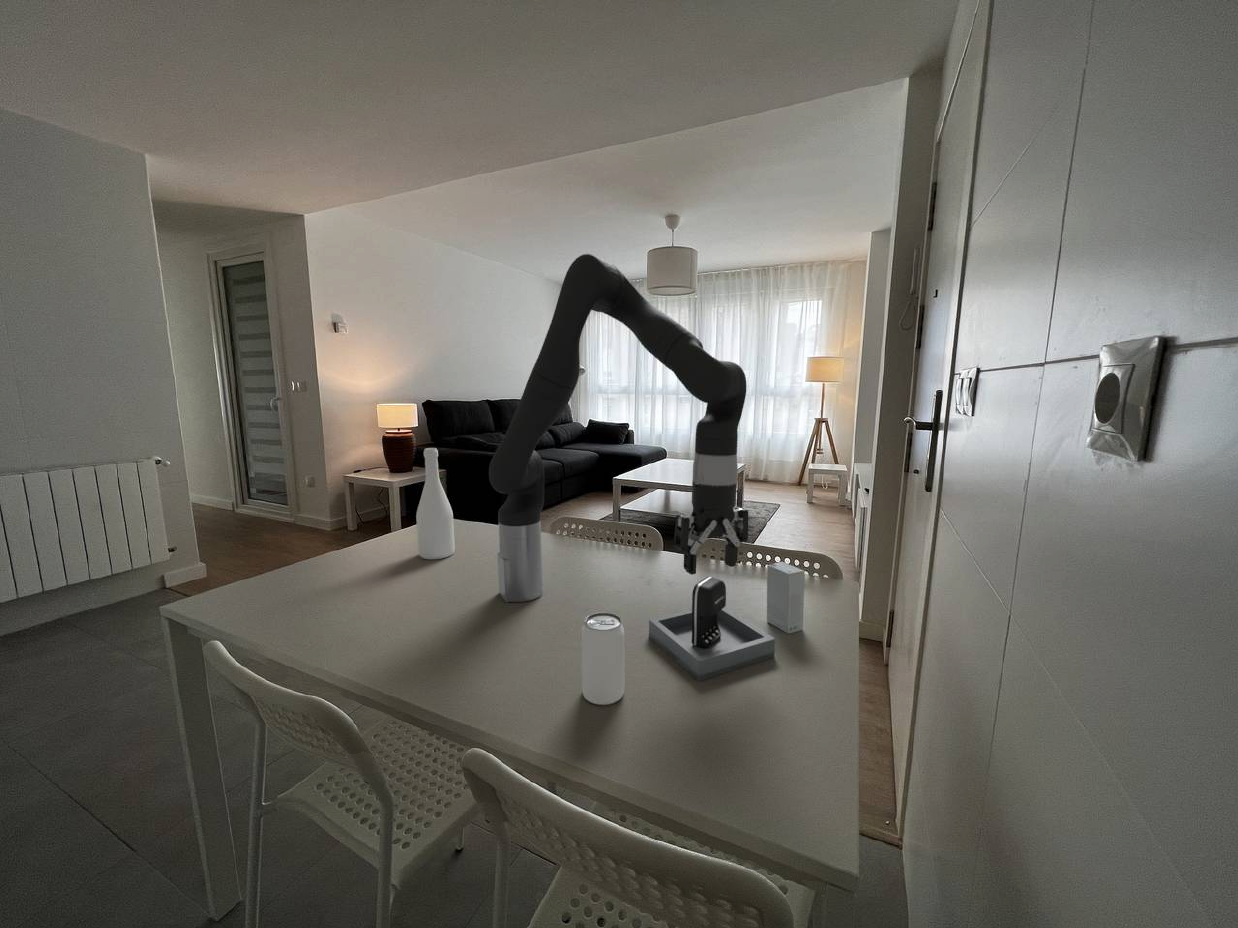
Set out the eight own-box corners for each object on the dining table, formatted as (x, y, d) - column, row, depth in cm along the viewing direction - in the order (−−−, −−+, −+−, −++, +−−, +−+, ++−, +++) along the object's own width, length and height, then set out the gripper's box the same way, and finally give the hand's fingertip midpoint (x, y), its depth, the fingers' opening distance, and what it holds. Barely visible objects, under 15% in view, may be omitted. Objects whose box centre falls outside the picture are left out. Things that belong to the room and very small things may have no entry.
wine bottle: (421, 550, 144) (414, 447, 139) (456, 547, 146) (450, 446, 141) (416, 561, 135) (409, 451, 130) (453, 558, 137) (447, 450, 132)
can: (582, 682, 80) (581, 611, 78) (622, 680, 81) (622, 610, 79) (582, 708, 74) (581, 632, 72) (626, 705, 74) (626, 630, 72)
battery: (709, 652, 87) (711, 590, 85) (690, 645, 89) (691, 585, 87) (727, 637, 92) (729, 578, 90) (708, 630, 95) (710, 573, 93)
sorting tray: (698, 681, 80) (699, 661, 80) (648, 636, 94) (649, 619, 94) (774, 657, 87) (775, 638, 87) (717, 619, 101) (717, 603, 101)
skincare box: (803, 630, 97) (807, 570, 95) (786, 635, 95) (789, 574, 93) (780, 616, 102) (783, 560, 100) (764, 621, 100) (766, 563, 99)
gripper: (733, 472, 92) (729, 556, 95) (667, 478, 86) (665, 568, 89) (761, 480, 86) (756, 570, 88) (692, 486, 79) (689, 583, 82)
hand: (710, 569), depth 88 cm, fingers open, 8 cm apart
